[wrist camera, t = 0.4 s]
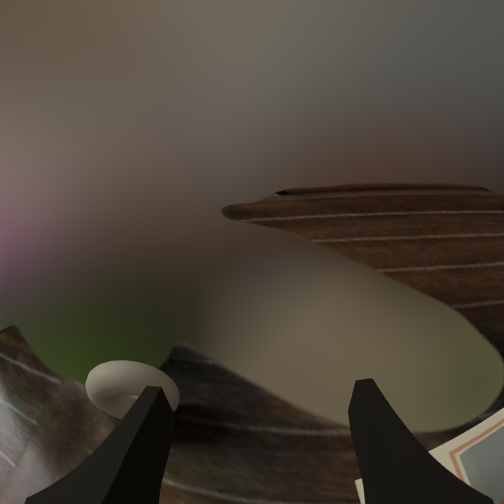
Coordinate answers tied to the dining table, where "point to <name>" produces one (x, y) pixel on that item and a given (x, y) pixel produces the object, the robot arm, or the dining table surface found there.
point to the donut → (126, 386)
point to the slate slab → (486, 465)
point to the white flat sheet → (457, 449)
